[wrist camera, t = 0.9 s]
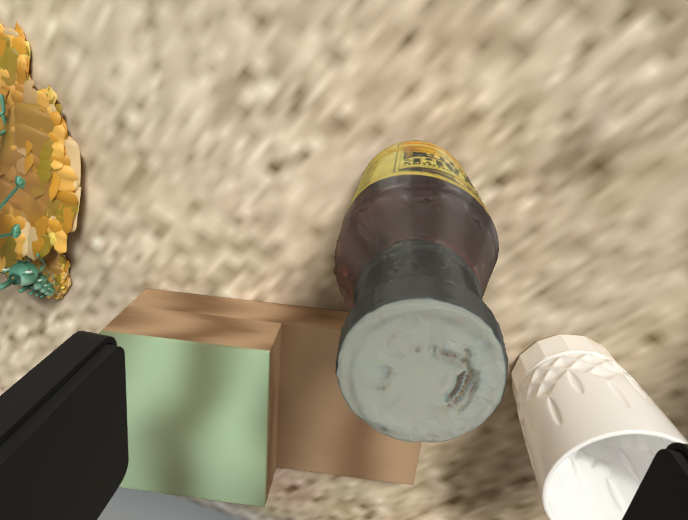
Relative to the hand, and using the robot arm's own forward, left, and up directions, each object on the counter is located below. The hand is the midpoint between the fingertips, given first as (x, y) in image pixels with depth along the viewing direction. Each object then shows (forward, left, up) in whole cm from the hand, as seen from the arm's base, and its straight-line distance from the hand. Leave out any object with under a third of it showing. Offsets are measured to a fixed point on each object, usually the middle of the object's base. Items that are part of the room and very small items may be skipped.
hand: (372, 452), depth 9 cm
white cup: (-13, +13, -23) cm, 29 cm away
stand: (+6, +16, -23) cm, 28 cm away
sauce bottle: (-1, +1, -23) cm, 23 cm away
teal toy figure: (+23, +2, -23) cm, 33 cm away
